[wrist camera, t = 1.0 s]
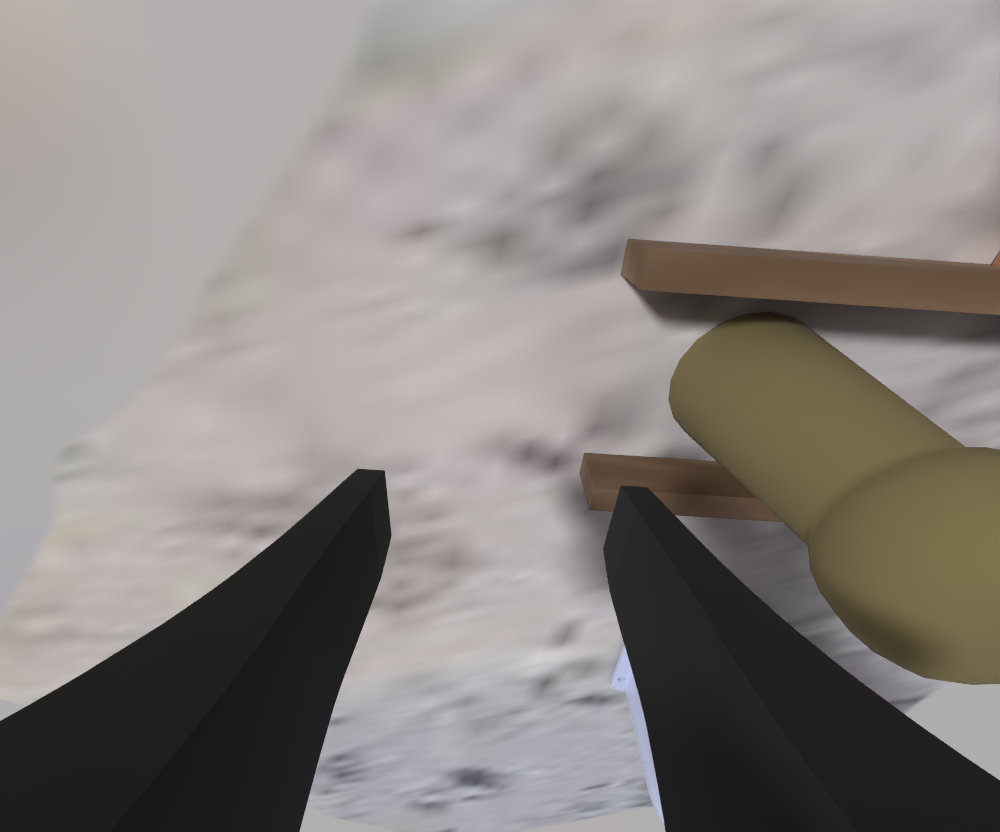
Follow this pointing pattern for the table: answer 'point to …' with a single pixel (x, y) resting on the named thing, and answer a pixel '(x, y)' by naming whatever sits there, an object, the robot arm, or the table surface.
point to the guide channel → (777, 278)
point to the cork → (857, 490)
